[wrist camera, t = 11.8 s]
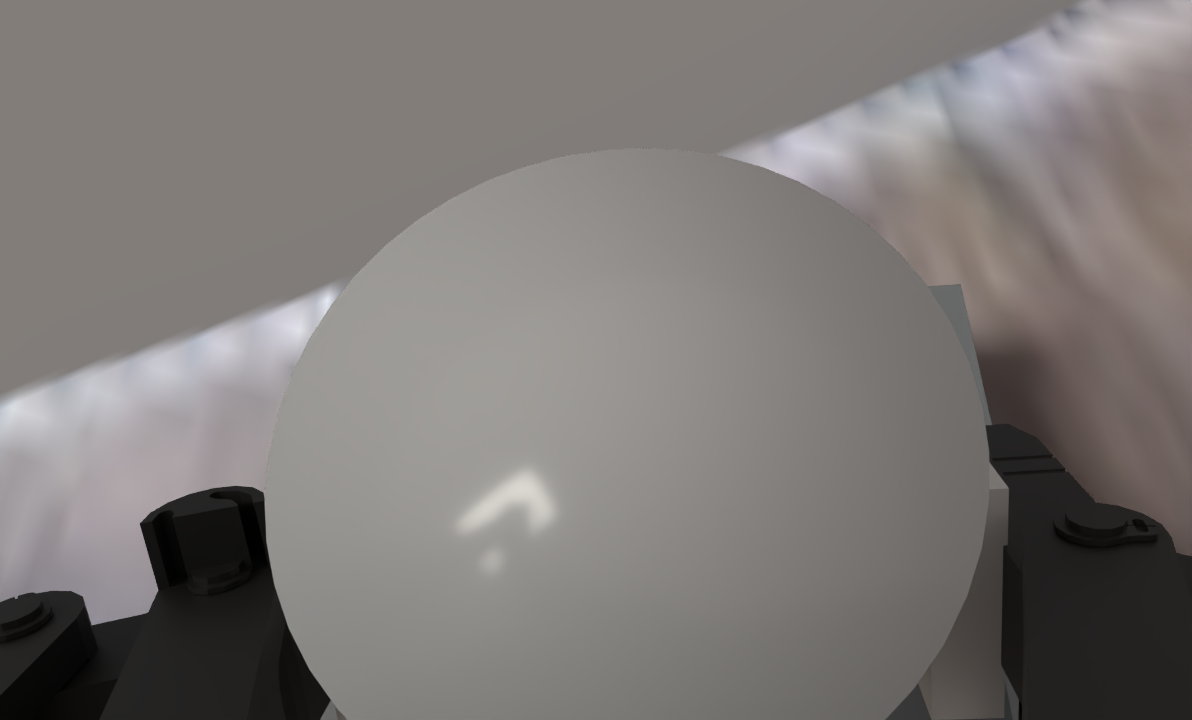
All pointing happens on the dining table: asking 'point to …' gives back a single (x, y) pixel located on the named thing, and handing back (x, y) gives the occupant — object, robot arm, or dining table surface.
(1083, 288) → the dining table surface
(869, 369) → the grey lidded jar
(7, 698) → the robot arm
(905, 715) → the parts tray
